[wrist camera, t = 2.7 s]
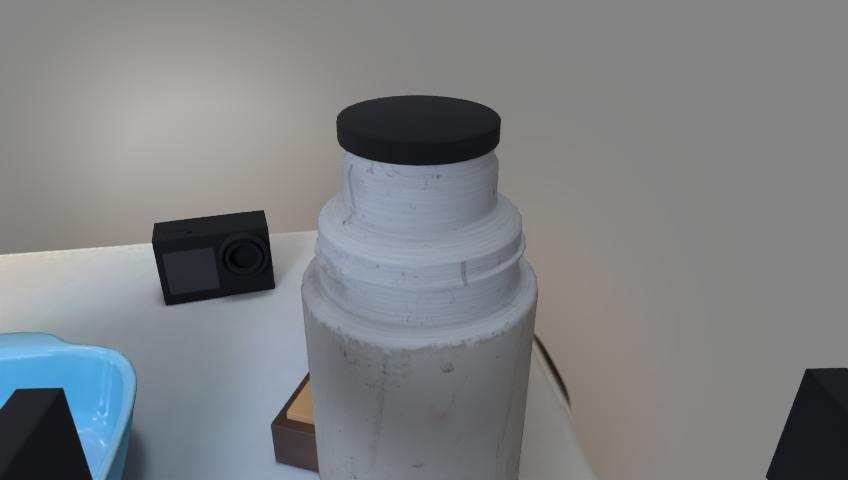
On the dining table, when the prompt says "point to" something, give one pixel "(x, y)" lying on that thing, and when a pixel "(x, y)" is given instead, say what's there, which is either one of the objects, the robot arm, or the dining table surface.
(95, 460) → the casserole dish
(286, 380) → the dining table surface
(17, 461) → the robot arm
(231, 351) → the dining table surface
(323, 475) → the thermos bottle
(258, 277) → the digital camera
